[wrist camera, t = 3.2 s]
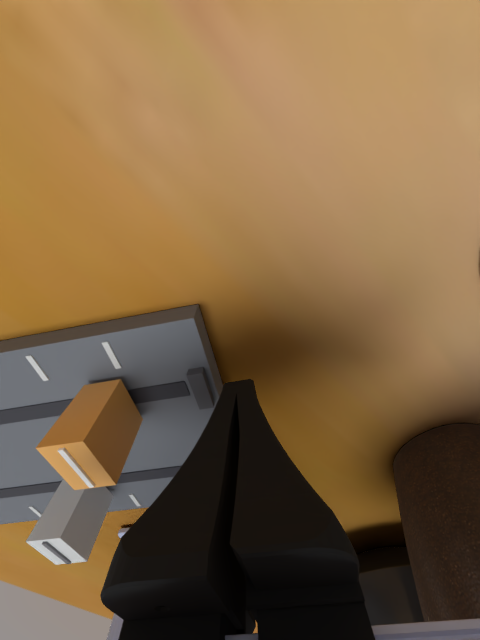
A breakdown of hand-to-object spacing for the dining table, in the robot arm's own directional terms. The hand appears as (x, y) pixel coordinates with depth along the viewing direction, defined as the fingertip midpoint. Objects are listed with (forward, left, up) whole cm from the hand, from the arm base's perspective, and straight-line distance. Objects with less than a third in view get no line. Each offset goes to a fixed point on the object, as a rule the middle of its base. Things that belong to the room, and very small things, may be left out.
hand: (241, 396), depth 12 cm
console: (-3, +14, -3) cm, 15 cm away
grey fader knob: (-7, +12, -1) cm, 14 cm away
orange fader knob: (0, +7, -1) cm, 7 cm away
